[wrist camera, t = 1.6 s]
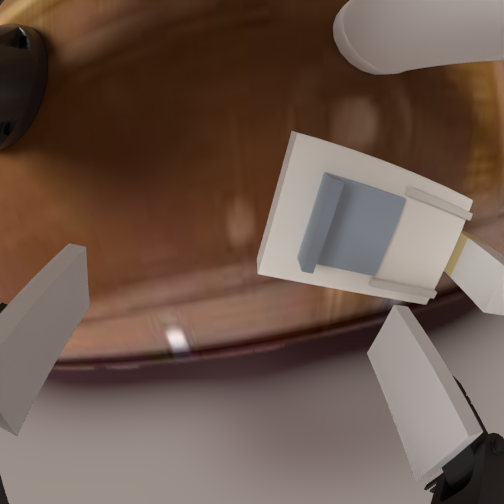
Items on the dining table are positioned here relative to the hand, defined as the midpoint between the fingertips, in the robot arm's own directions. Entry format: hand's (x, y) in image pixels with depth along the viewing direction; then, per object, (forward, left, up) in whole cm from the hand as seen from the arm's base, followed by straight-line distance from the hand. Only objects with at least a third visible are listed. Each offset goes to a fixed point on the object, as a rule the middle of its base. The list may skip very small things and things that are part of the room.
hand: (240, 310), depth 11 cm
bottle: (+8, +18, -18) cm, 27 cm away
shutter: (+10, 0, -15) cm, 18 cm away
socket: (+13, 0, -18) cm, 22 cm away
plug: (+27, 0, -18) cm, 33 cm away
